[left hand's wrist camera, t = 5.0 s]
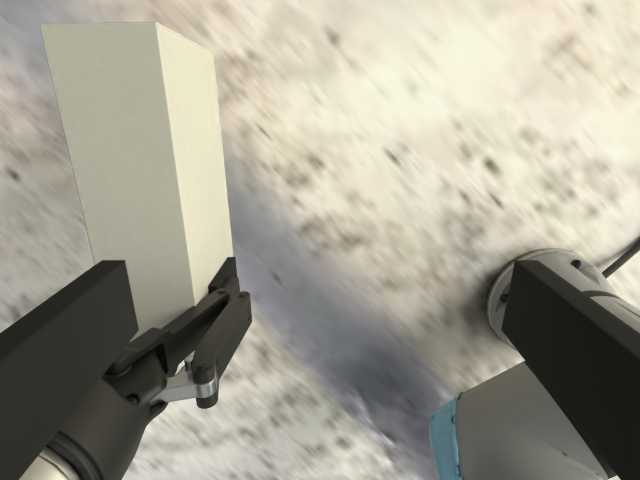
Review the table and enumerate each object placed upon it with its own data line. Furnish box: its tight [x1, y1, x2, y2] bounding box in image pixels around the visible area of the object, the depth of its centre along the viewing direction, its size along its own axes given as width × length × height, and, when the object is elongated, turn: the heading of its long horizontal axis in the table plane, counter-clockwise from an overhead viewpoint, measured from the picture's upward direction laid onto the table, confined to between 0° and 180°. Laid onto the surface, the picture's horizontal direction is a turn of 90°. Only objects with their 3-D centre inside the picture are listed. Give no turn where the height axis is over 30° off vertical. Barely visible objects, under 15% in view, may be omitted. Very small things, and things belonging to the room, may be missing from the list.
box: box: [40, 22, 233, 356], centre depth 31 cm, size 23×7×12 cm, turn 1°
